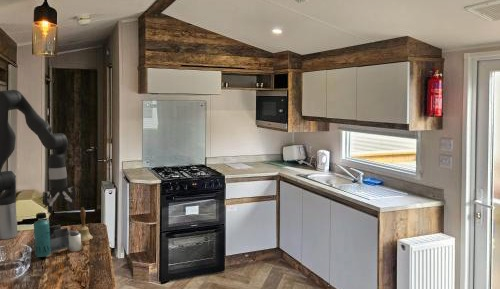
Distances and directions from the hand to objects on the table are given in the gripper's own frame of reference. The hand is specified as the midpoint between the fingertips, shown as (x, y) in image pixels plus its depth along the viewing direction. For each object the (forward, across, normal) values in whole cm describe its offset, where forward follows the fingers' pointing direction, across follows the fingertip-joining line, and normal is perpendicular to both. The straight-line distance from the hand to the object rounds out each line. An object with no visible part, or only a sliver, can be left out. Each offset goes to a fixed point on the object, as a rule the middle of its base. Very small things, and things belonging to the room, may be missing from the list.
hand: (60, 211), depth 198 cm
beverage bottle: (+18, +11, +5) cm, 21 cm away
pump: (+18, -3, +6) cm, 19 cm away
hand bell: (+18, -13, -6) cm, 23 cm away
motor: (+17, +2, -3) cm, 18 cm away
